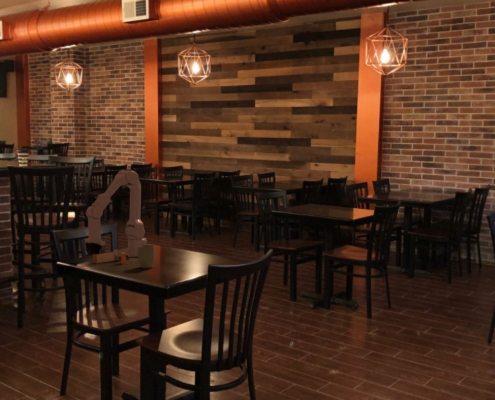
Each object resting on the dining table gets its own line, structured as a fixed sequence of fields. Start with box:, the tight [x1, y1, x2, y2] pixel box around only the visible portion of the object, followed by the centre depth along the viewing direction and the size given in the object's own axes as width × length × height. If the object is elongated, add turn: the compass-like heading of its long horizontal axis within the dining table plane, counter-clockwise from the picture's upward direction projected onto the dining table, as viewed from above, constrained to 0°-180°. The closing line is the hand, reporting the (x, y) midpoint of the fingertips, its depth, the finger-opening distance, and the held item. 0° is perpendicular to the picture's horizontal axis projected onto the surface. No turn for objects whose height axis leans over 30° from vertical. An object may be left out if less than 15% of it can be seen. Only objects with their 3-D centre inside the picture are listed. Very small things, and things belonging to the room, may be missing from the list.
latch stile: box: [120, 252, 128, 265], centre depth 282 cm, size 3×3×5 cm
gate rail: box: [92, 251, 115, 264], centre depth 286 cm, size 11×2×4 cm, turn 136°
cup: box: [137, 244, 156, 269], centre depth 271 cm, size 8×8×10 cm
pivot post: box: [112, 249, 120, 261], centre depth 291 cm, size 3×3×5 cm
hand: (95, 258), depth 287 cm, fingers closed
